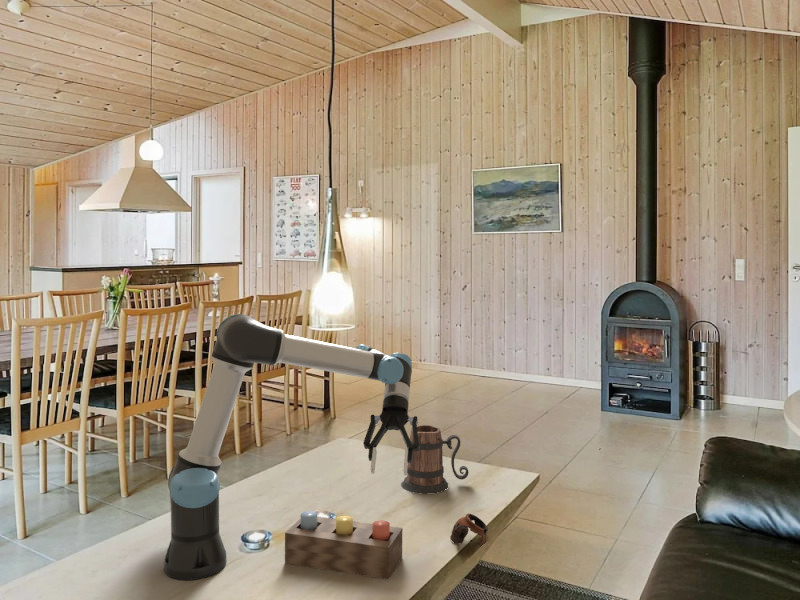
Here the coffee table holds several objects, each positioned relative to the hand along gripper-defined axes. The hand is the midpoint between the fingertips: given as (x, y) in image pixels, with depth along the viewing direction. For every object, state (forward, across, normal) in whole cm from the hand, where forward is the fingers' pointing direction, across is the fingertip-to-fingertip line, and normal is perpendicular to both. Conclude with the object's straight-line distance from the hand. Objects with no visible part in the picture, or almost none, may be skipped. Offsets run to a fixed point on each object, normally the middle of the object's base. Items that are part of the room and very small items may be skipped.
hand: (388, 471), depth 171 cm
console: (+21, +10, -8) cm, 25 cm away
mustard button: (+17, +10, -3) cm, 20 cm away
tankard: (-20, -10, -49) cm, 54 cm away
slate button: (+16, +20, -5) cm, 26 cm away
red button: (+18, 0, -2) cm, 18 cm away
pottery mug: (+11, -21, -19) cm, 31 cm away
